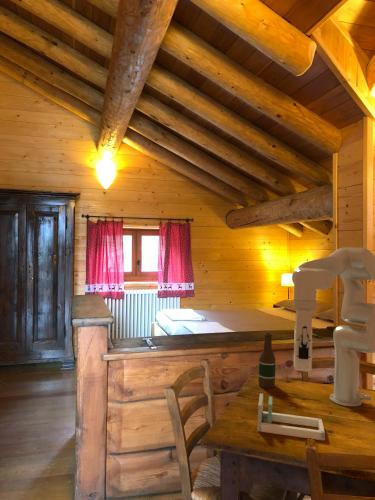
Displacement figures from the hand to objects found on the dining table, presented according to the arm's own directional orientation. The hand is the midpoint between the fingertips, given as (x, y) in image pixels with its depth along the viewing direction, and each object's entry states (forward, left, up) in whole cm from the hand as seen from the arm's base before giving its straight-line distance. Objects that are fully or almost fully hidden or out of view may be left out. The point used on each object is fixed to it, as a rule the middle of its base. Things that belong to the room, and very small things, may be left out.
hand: (302, 355), depth 133 cm
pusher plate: (+11, 0, -26) cm, 28 cm away
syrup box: (0, 0, -5) cm, 5 cm away
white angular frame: (+4, 0, -26) cm, 26 cm away
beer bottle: (+13, -41, -26) cm, 50 cm away
